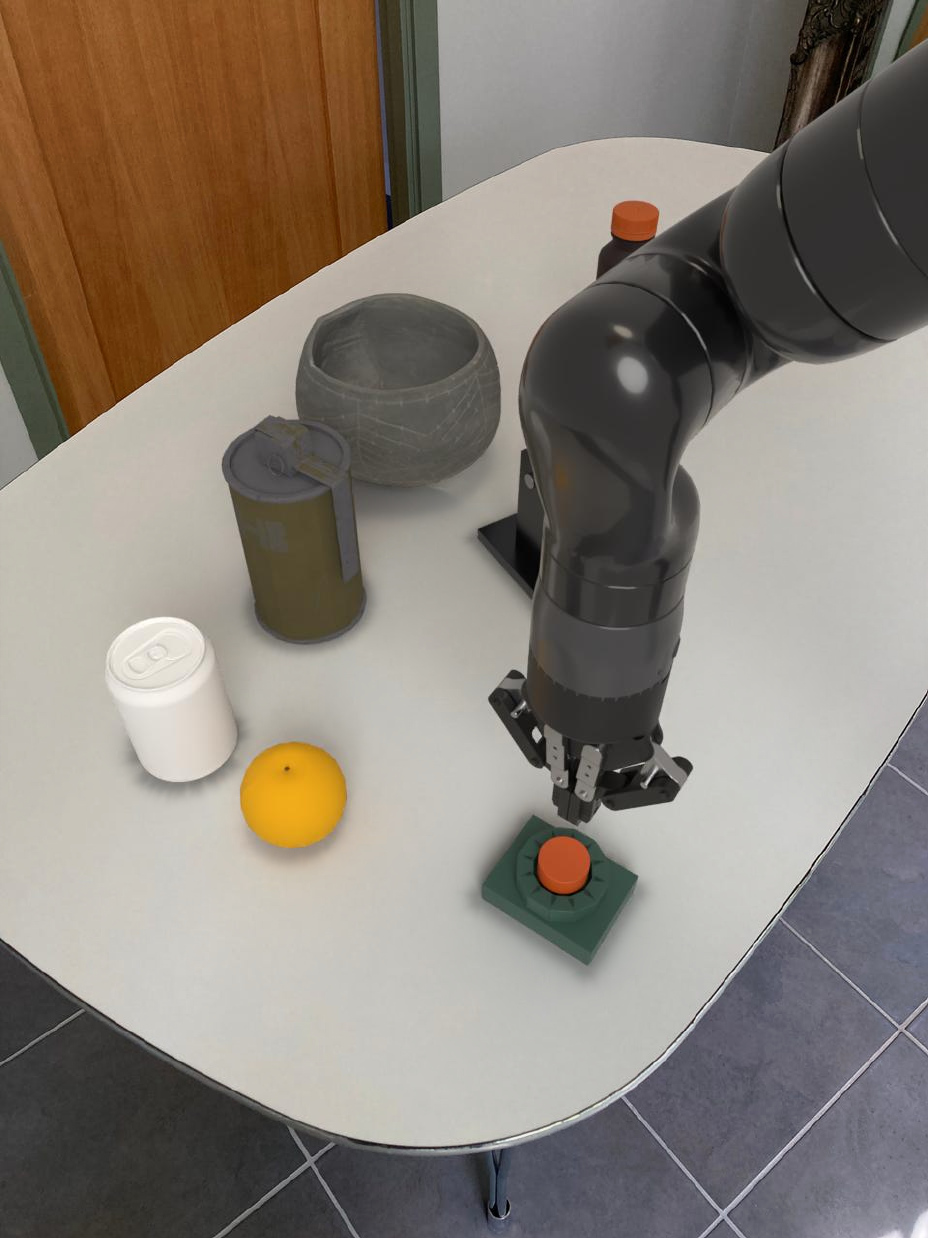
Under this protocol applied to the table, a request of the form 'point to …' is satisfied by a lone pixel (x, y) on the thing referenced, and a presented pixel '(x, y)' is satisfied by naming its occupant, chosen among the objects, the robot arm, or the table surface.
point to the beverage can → (171, 698)
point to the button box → (559, 916)
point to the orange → (293, 794)
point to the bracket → (519, 532)
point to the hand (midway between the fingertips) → (575, 811)
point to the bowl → (402, 387)
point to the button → (563, 865)
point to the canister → (297, 527)
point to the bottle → (628, 232)
